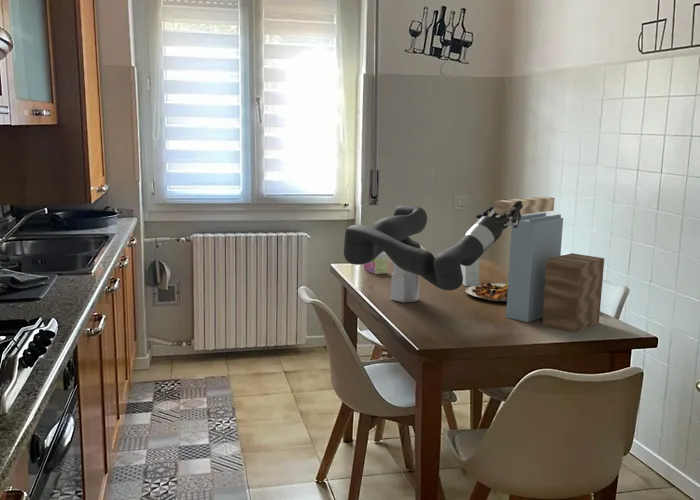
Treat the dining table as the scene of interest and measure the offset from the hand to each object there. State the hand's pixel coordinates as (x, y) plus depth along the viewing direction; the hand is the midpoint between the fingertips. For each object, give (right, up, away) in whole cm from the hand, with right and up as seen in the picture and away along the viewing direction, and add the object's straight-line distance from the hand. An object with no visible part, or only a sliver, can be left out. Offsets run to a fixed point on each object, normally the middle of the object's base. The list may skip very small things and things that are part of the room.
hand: (513, 202), depth 203 cm
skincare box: (-1, -27, +72) cm, 77 cm away
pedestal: (+12, -35, +28) cm, 47 cm away
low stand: (+22, -37, +18) cm, 47 cm away
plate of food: (+9, -31, +53) cm, 62 cm away
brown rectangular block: (+4, -3, +5) cm, 7 cm away
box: (-37, -23, +92) cm, 102 cm away
